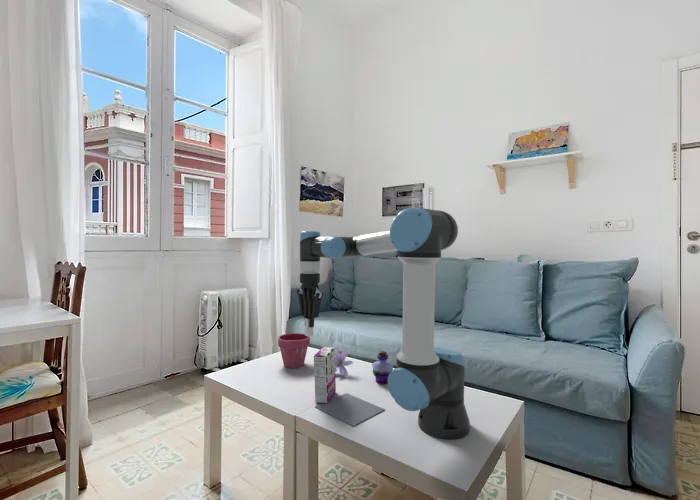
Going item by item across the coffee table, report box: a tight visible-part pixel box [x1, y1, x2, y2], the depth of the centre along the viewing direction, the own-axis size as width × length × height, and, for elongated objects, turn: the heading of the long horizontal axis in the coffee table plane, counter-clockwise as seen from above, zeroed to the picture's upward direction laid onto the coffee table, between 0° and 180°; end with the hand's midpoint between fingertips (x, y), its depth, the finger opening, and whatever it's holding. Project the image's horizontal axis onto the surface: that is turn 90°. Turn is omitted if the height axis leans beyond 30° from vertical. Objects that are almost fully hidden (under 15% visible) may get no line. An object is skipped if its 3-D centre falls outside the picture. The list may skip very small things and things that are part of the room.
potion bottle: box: [371, 350, 394, 385], centre depth 142 cm, size 9×9×12 cm
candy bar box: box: [313, 346, 337, 404], centre depth 127 cm, size 11×5×16 cm, turn 168°
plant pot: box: [277, 332, 311, 369], centre depth 162 cm, size 14×14×13 cm
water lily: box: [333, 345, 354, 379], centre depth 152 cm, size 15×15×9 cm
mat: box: [314, 392, 386, 427], centre depth 119 cm, size 18×15×1 cm
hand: (309, 335), depth 133 cm, fingers closed
